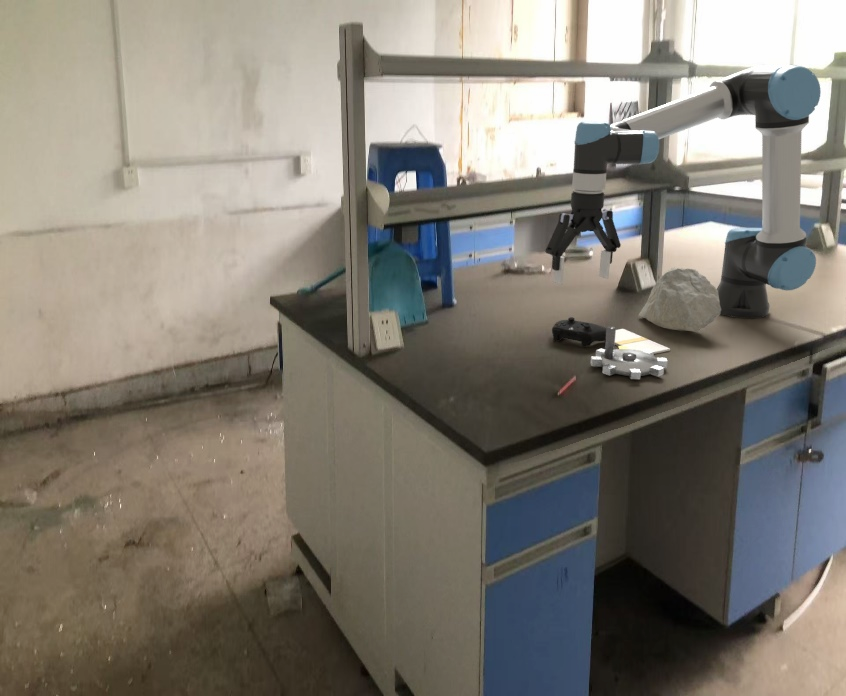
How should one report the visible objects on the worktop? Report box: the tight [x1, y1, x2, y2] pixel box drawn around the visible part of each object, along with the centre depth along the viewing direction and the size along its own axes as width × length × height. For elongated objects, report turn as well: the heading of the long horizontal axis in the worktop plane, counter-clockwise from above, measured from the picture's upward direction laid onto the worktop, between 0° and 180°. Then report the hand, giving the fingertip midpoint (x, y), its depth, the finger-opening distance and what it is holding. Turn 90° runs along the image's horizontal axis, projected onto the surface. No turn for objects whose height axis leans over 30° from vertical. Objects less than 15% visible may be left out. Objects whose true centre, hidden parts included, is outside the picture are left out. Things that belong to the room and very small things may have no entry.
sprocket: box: [590, 326, 668, 380], centre depth 176 cm, size 17×17×9 cm
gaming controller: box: [551, 317, 607, 347], centre depth 194 cm, size 14×6×10 cm
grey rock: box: [638, 266, 721, 333], centre depth 202 cm, size 22×13×15 cm, turn 31°
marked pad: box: [614, 328, 671, 355], centre depth 194 cm, size 9×17×1 cm, turn 26°
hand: (581, 280), depth 190 cm, fingers open, 13 cm apart
